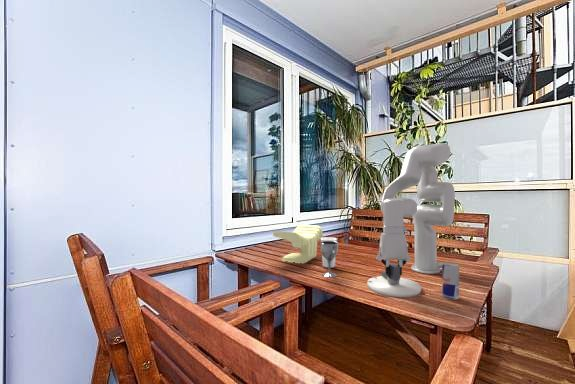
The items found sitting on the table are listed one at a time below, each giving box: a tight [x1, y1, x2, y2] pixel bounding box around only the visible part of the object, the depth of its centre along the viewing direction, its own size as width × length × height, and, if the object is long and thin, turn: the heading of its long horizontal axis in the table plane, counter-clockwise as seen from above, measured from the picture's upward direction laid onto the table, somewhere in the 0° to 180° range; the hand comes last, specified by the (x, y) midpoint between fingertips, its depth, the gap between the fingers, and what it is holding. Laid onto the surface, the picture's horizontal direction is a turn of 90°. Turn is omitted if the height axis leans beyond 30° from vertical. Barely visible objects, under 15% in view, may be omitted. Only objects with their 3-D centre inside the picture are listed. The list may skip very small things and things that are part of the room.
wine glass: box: [320, 241, 339, 278], centre depth 128 cm, size 8×8×15 cm
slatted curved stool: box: [272, 224, 324, 264], centre depth 156 cm, size 30×16×18 cm, turn 151°
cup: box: [320, 236, 338, 268], centre depth 142 cm, size 8×8×14 cm
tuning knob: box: [381, 262, 400, 284], centre depth 115 cm, size 12×4×7 cm, turn 7°
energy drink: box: [441, 262, 460, 301], centre depth 101 cm, size 5×5×12 cm
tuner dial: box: [366, 275, 422, 298], centre depth 111 cm, size 20×20×2 cm
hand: (393, 275), depth 111 cm, fingers closed on tuning knob, 3 cm apart
